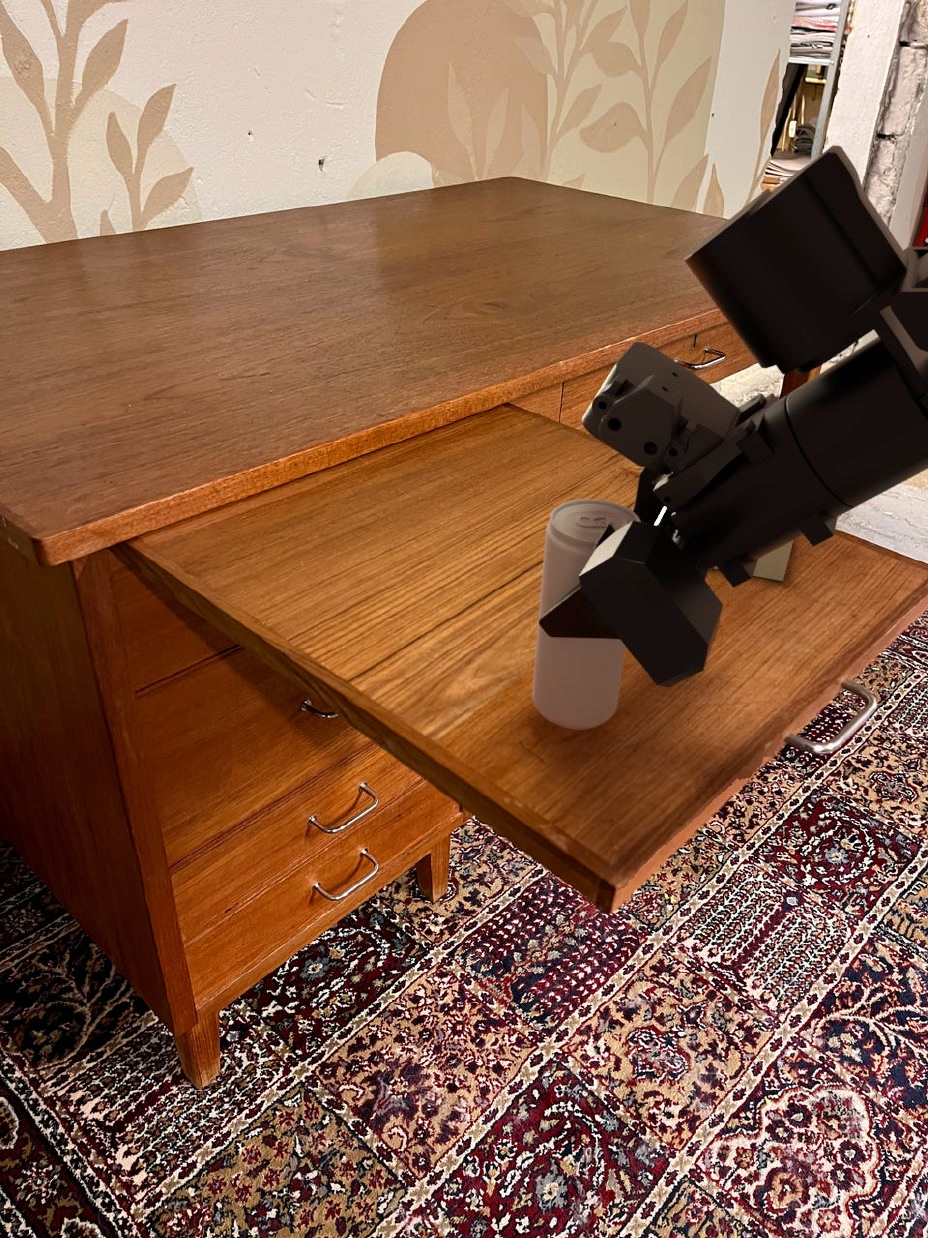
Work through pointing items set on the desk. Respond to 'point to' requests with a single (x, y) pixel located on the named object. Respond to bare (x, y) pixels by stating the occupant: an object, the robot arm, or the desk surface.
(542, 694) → the beverage can
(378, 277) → the desk surface
